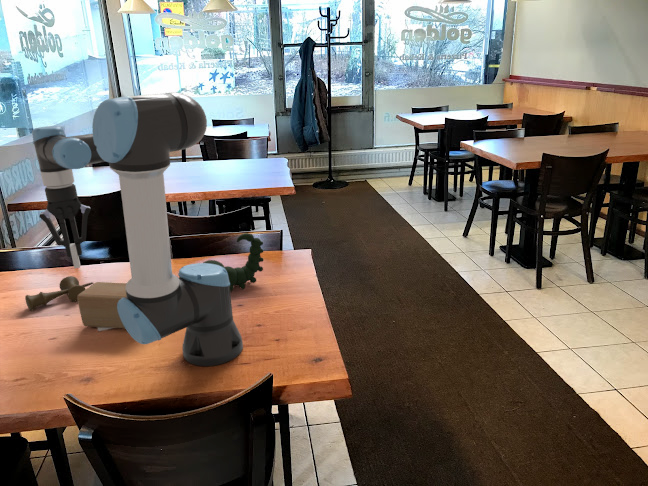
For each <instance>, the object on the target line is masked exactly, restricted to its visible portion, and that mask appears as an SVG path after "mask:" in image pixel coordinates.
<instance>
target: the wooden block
mask: <svg viewBox="0 0 648 486" xmlns="http://www.w3.org/2000/svg"><path fill="white" fill-rule="evenodd" d="M126 284H127V283H125V282H107V281H106V282H105V281H96V282H93V284H92V285H89V286H87V288H85V289H86V290H84V291H83V292H81V293H80V294H79V295H78V296H77V300H78V301H77V303H78V304H77V305H78V308H79V309H78V310H79V314H80V318H81V322H82V325H83V326H84V327H93V328H94V327H95V328H98V327H108V328H111V329H124V330H126V328H125V327H124V325H123V323H122V321H121V319H120V316H119V314H118V310H117V303H118V301H119V300H120V299H122V298H124V297H126Z"/></svg>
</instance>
